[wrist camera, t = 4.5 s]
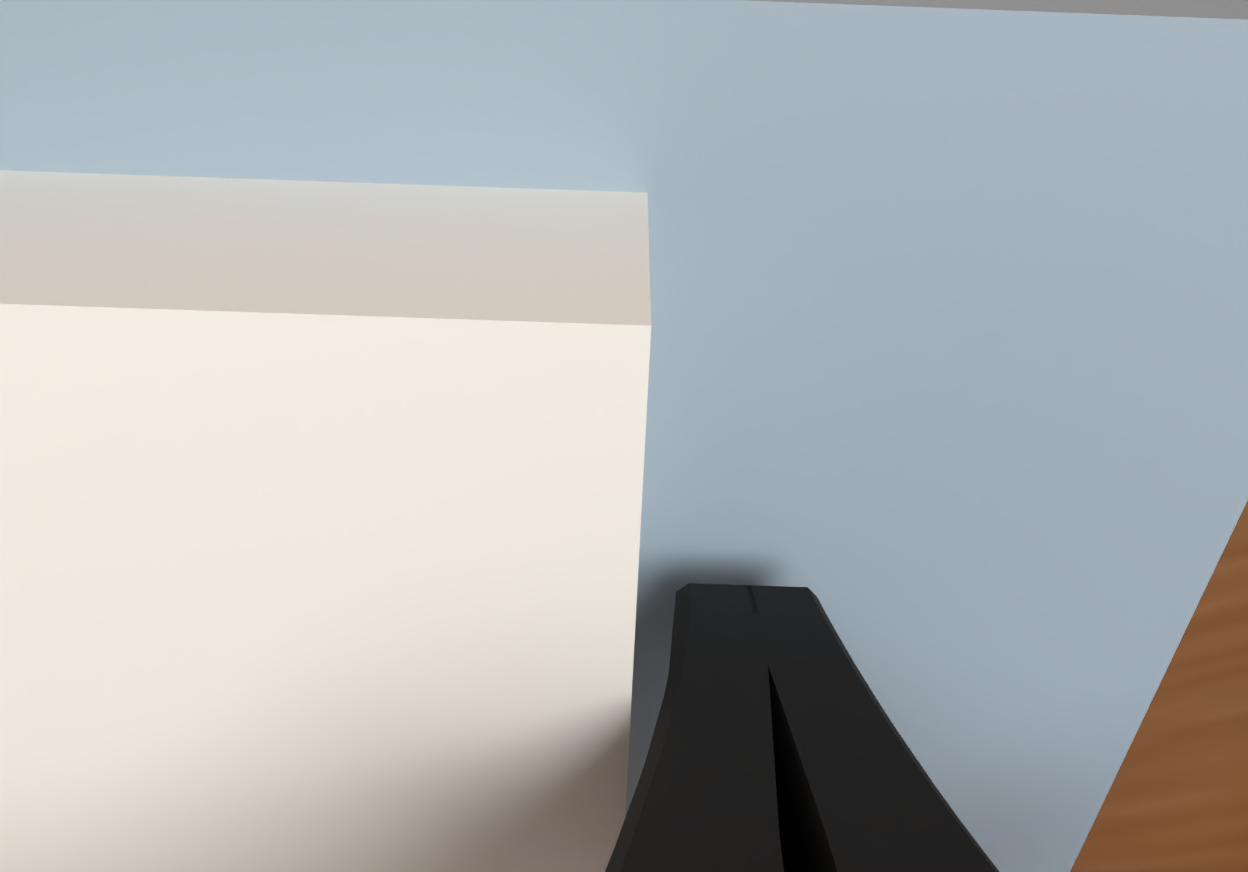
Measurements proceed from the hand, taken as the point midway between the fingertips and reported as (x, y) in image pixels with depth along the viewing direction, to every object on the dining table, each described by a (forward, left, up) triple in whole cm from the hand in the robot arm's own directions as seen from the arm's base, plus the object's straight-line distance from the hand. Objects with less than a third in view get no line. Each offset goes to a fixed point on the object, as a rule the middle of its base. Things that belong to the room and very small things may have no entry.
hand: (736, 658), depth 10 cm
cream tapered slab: (0, +4, 0) cm, 4 cm away
